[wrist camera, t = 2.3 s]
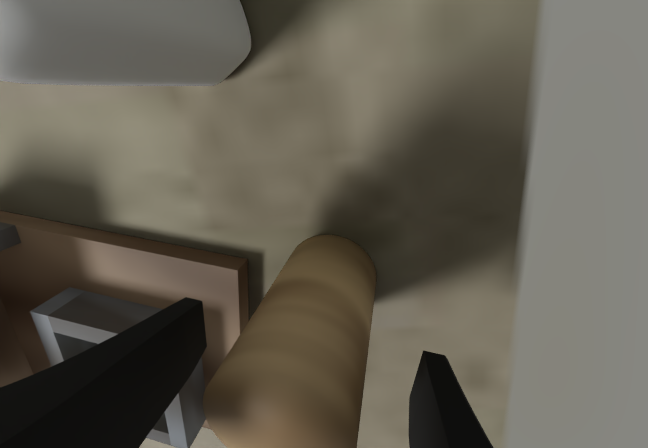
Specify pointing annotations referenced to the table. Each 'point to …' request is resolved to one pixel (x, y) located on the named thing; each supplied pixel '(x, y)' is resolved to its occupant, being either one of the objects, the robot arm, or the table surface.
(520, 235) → the table surface
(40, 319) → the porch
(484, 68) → the table surface
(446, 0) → the table surface
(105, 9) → the eye dropper bottle
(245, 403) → the peg
